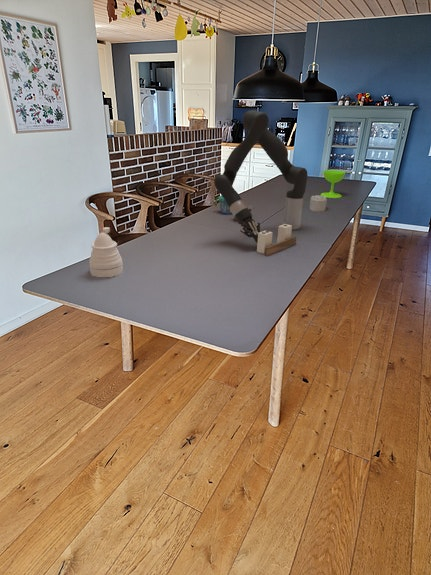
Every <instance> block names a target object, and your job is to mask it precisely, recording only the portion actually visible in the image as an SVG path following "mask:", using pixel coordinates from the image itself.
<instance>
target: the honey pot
mask: <svg viewBox="0 0 431 575" xmlns="http://www.w3.org/2000/svg"><path fill="white" fill-rule="evenodd" d="M102 230H103V231H102V232H100V233H99V234H98V235H97V236H96V237H95V240H94V242H93V243H91V245H90V247H91V252H90V257H89V260H88V262H89V270H90V275H91V274H92V275H94V276H99V277H110V276H114V275H118V274H120V273H121V272H122V271H123V272H124V268H123V266H124V264H123V258H122V256H121V254H120V253H119V251H120V250H118V248H117V246H118V243H117V242H116V241H115V240H113V239H112V238H111V236H110V235H109V233H110V232H111V228H110V227H108V226H107V227H106V226H105V227H103V229H102ZM123 272H122V273H123ZM92 275H91V276H92ZM120 275H121V274H120ZM94 276H93V277H94ZM118 276H119V275H118Z"/></svg>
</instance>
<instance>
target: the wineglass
mask: <svg viewBox="0 0 431 575" xmlns="http://www.w3.org/2000/svg"><path fill="white" fill-rule="evenodd" d="M345 174H346V172H345V171H343V170H333V169H329V170H324V171H323V176H324V178H325V180H326V181H328V182H329V183H331V184H330V185H331V186H330V191H329V192H325V191H324V192H322V193H320V196H324V197H326V198H329V199H339V198H342V196H343V195H342V194H340V193H337V192H334V188H335V187H334V186H335V184H336V183H339V182H340V181H342V180H343V178H345Z"/></svg>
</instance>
